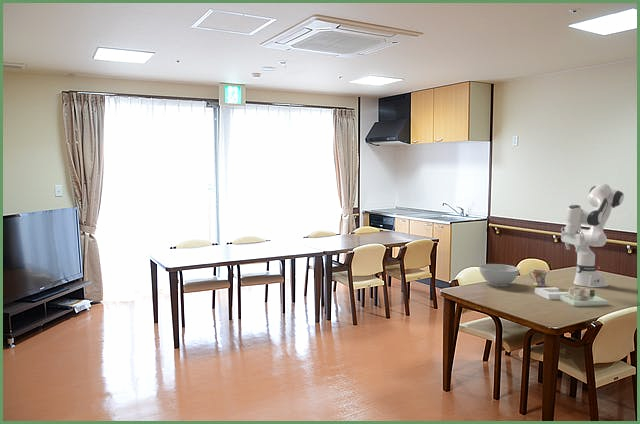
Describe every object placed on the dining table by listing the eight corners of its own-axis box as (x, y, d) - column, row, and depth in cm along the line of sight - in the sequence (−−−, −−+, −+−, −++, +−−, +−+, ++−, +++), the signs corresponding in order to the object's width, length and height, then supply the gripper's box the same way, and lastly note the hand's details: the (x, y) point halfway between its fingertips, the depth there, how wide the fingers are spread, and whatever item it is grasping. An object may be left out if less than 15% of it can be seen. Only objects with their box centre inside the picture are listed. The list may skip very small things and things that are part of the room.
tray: (591, 299, 325) (592, 294, 325) (607, 305, 312) (607, 300, 311) (559, 300, 322) (560, 295, 322) (573, 306, 308) (574, 301, 308)
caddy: (590, 299, 321) (591, 287, 320) (596, 302, 315) (597, 289, 314) (568, 300, 319) (568, 287, 318) (574, 303, 313) (575, 290, 312)
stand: (555, 292, 341) (555, 287, 341) (570, 298, 325) (570, 293, 325) (534, 293, 339) (534, 287, 339) (548, 299, 323) (548, 294, 323)
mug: (548, 286, 358) (549, 271, 357) (542, 288, 352) (543, 273, 351) (531, 283, 367) (532, 268, 366) (525, 285, 361) (526, 270, 360)
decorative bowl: (470, 281, 370) (471, 265, 368) (500, 279, 379) (501, 262, 378) (495, 290, 345) (496, 272, 344) (527, 287, 354) (528, 270, 353)
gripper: (588, 232, 327) (587, 253, 328) (568, 227, 347) (567, 247, 349) (579, 232, 326) (578, 254, 328) (559, 228, 346) (558, 248, 348)
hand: (572, 250), depth 338 cm, fingers open, 8 cm apart
